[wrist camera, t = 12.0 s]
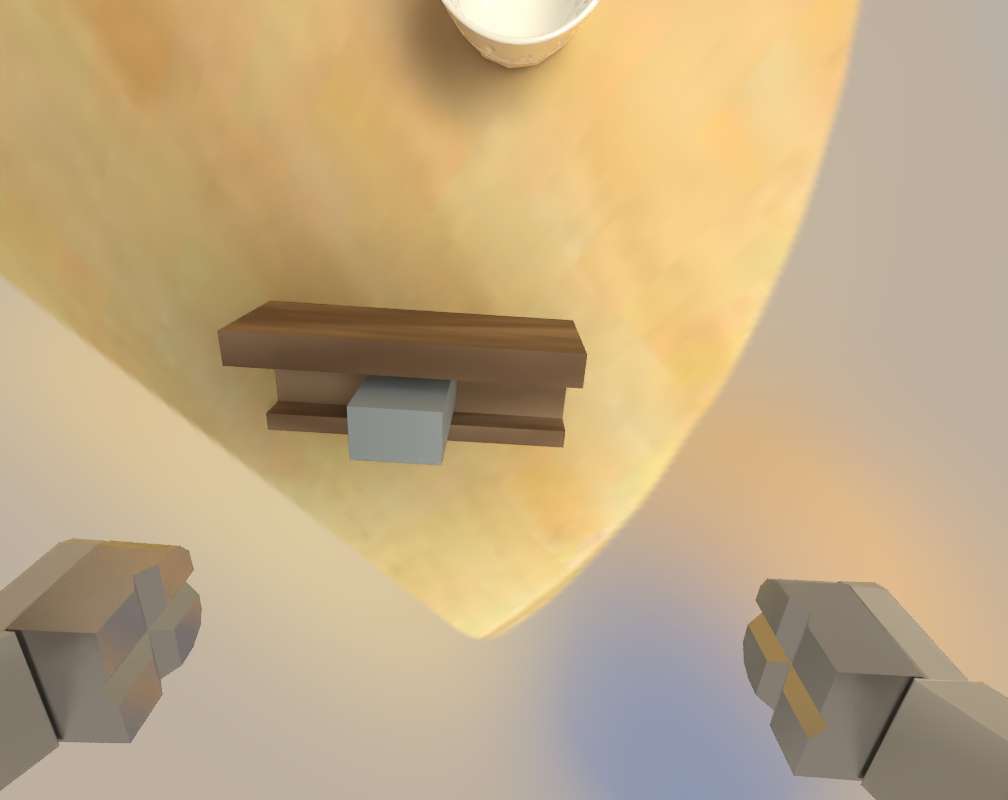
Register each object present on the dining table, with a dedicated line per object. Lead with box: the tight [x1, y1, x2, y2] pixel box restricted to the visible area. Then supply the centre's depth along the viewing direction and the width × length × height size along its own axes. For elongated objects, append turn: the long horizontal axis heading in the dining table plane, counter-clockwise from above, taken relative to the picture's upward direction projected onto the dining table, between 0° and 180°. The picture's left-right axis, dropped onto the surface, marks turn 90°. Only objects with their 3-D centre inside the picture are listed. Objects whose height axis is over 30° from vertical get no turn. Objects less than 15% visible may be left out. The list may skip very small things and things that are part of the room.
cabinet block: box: [347, 375, 457, 465], centre depth 33 cm, size 4×5×9 cm
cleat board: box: [218, 301, 587, 447], centre depth 34 cm, size 8×20×7 cm, turn 86°
